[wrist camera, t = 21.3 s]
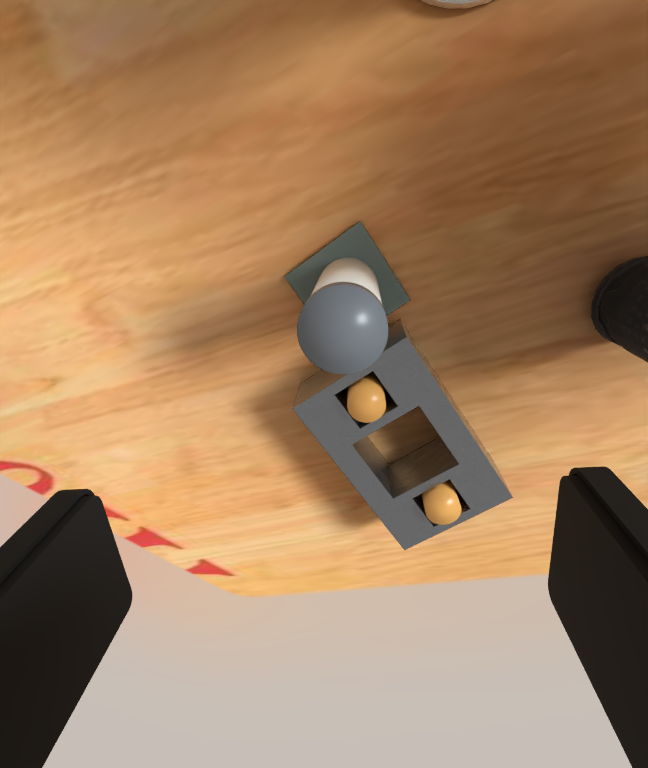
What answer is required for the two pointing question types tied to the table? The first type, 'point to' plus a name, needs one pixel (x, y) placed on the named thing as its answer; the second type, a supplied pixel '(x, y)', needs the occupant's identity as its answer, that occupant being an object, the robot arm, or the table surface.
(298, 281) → the mat
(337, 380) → the housing
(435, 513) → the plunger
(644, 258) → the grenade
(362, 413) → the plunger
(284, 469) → the table surface
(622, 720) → the robot arm
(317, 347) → the ball
